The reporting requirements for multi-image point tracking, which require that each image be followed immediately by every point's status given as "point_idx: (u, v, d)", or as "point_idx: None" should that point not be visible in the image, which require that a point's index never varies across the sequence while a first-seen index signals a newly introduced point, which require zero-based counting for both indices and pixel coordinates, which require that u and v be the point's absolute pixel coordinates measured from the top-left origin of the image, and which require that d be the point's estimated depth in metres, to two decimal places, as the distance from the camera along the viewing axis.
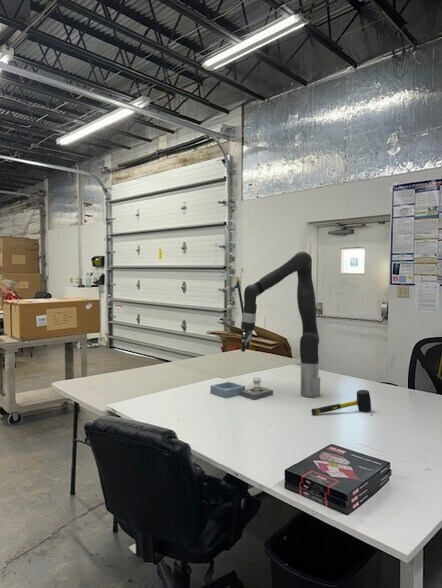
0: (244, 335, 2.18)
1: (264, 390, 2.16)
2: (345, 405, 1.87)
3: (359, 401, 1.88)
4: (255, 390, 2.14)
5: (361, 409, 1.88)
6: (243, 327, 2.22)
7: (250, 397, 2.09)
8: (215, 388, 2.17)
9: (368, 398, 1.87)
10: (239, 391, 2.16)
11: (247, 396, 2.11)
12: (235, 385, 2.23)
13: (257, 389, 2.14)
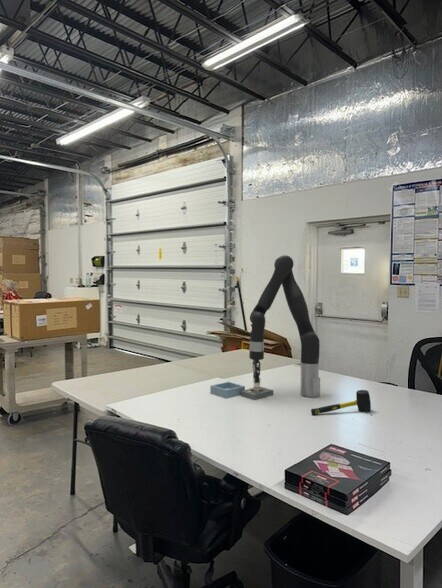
0: (258, 365, 2.08)
1: (264, 390, 2.16)
2: (345, 405, 1.87)
3: (359, 401, 1.88)
4: (255, 390, 2.14)
5: (361, 409, 1.88)
6: (253, 357, 2.12)
7: (250, 397, 2.09)
8: (215, 388, 2.17)
9: (368, 398, 1.87)
10: (239, 391, 2.16)
11: (247, 396, 2.11)
12: (235, 385, 2.23)
13: (257, 389, 2.14)
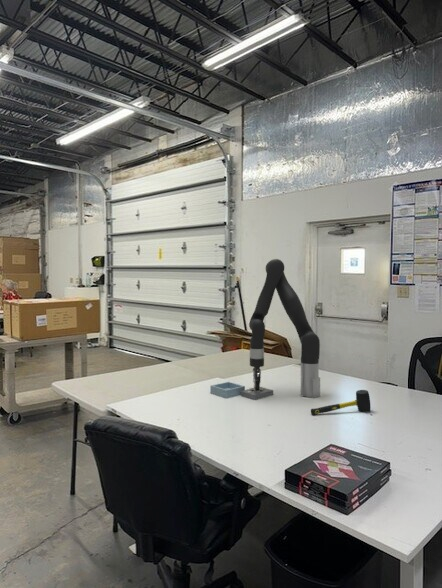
0: (258, 375, 2.09)
1: (264, 390, 2.16)
2: (344, 405, 1.87)
3: (358, 401, 1.88)
4: (255, 390, 2.14)
5: (360, 409, 1.88)
6: (254, 364, 2.12)
7: (250, 397, 2.09)
8: (215, 388, 2.17)
9: (367, 398, 1.87)
10: (239, 391, 2.16)
11: (247, 396, 2.11)
12: (235, 385, 2.23)
13: None
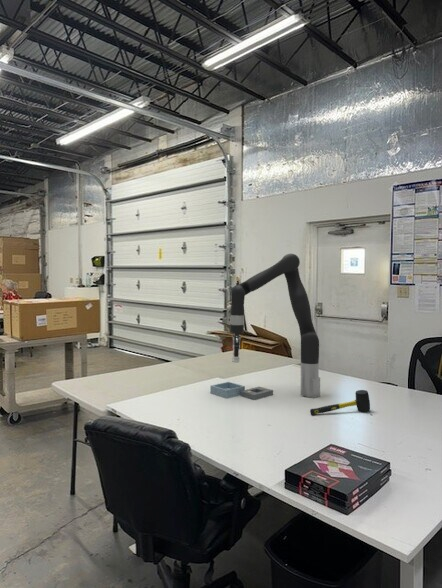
0: (237, 341, 2.11)
1: (264, 390, 2.16)
2: (344, 405, 1.87)
3: (358, 401, 1.88)
4: None
5: (360, 409, 1.88)
6: (233, 330, 2.13)
7: (250, 397, 2.09)
8: (215, 388, 2.17)
9: (367, 398, 1.87)
10: (239, 391, 2.16)
11: (247, 396, 2.11)
12: (235, 385, 2.23)
13: None
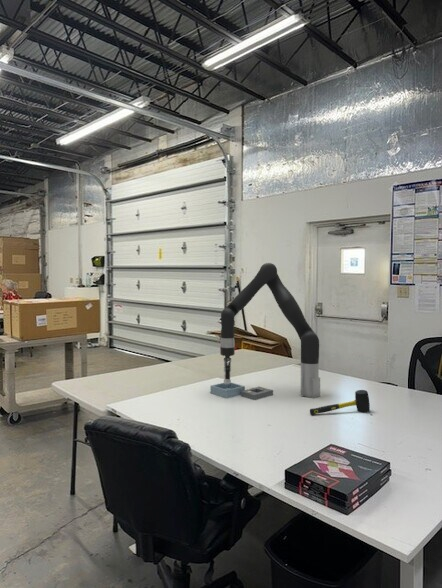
0: (228, 364, 2.12)
1: (264, 390, 2.16)
2: (343, 405, 1.87)
3: (357, 401, 1.88)
4: (225, 379, 2.18)
5: (359, 409, 1.88)
6: (224, 353, 2.15)
7: (250, 397, 2.09)
8: (215, 388, 2.17)
9: (367, 398, 1.87)
10: (239, 391, 2.16)
11: (247, 396, 2.11)
12: (235, 385, 2.23)
13: None
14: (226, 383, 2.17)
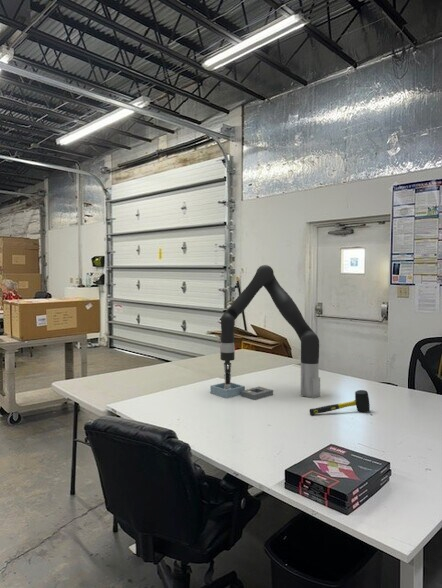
0: (228, 368, 2.12)
1: (264, 390, 2.16)
2: (343, 405, 1.87)
3: (357, 401, 1.88)
4: (226, 386, 2.18)
5: (359, 409, 1.88)
6: (224, 358, 2.15)
7: (250, 397, 2.09)
8: (215, 388, 2.17)
9: (366, 398, 1.87)
10: (239, 391, 2.16)
11: (247, 396, 2.11)
12: (235, 385, 2.23)
13: (227, 385, 2.18)
14: None
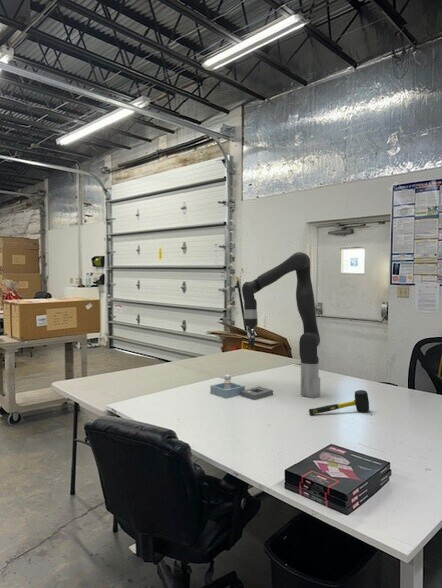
0: (253, 331, 2.22)
1: (264, 390, 2.16)
2: (343, 405, 1.86)
3: (357, 401, 1.87)
4: (226, 386, 2.18)
5: (359, 409, 1.88)
6: (248, 324, 2.25)
7: (250, 397, 2.09)
8: (215, 388, 2.17)
9: (366, 398, 1.87)
10: (239, 391, 2.16)
11: (247, 396, 2.11)
12: (235, 385, 2.23)
13: (227, 385, 2.18)
14: None
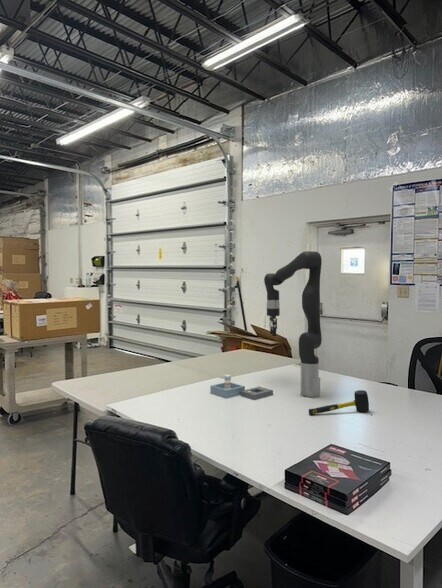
0: (275, 320, 2.33)
1: (264, 390, 2.16)
2: (342, 405, 1.86)
3: (357, 402, 1.87)
4: (226, 386, 2.18)
5: (359, 410, 1.88)
6: (270, 313, 2.37)
7: (250, 397, 2.09)
8: (215, 388, 2.17)
9: (366, 398, 1.86)
10: (239, 391, 2.16)
11: (247, 396, 2.11)
12: (235, 385, 2.23)
13: (227, 385, 2.18)
14: None
